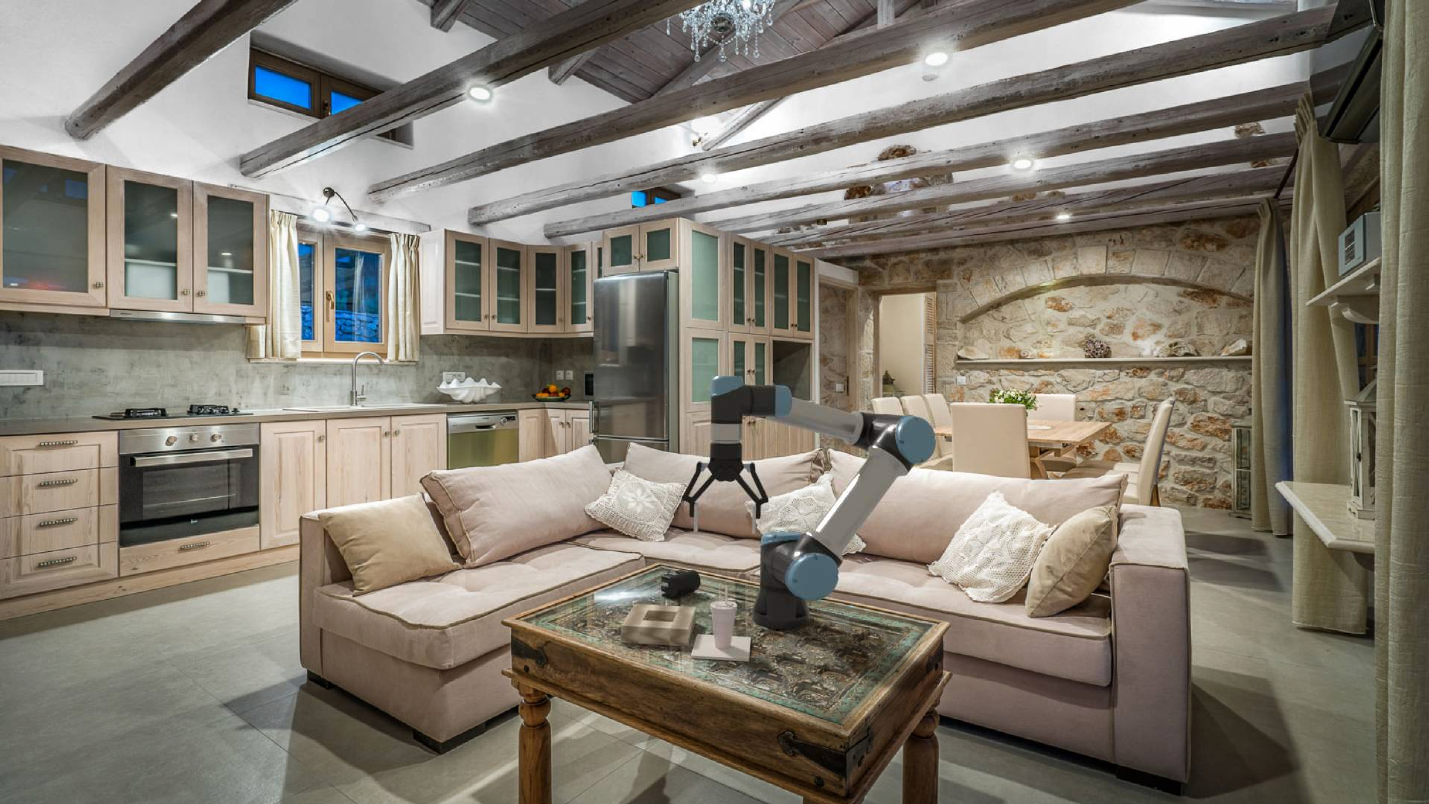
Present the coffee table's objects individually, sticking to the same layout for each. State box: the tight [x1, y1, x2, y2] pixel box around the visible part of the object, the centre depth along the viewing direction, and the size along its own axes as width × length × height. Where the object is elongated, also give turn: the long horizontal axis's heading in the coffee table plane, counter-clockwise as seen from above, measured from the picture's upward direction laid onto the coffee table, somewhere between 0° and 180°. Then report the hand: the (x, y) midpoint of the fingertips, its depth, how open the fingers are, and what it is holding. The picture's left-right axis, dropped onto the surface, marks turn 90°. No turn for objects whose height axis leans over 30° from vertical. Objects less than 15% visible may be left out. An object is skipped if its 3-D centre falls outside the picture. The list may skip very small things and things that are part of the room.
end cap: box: [660, 569, 702, 600], centre depth 191 cm, size 10×7×7 cm
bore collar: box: [620, 603, 697, 647], centre depth 161 cm, size 16×16×4 cm
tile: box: [690, 633, 751, 663], centre depth 152 cm, size 13×13×1 cm
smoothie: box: [709, 585, 738, 649], centre depth 152 cm, size 6×6×14 cm
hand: (724, 532), depth 153 cm, fingers open, 13 cm apart
